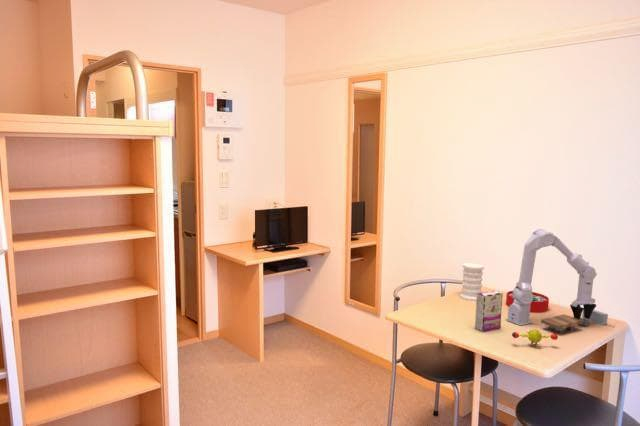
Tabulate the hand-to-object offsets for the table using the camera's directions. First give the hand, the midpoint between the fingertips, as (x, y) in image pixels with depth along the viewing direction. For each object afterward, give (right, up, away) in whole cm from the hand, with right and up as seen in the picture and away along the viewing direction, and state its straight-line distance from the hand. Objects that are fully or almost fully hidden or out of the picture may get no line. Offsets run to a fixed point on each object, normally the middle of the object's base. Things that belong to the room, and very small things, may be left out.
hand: (581, 319), depth 219 cm
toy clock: (-15, +1, +25) cm, 29 cm away
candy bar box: (-47, -2, -8) cm, 48 cm away
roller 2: (-10, -3, -5) cm, 11 cm away
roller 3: (0, -3, 0) cm, 3 cm away
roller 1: (-16, -3, -8) cm, 18 cm away
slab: (-13, 0, -7) cm, 15 cm away
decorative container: (-39, +3, +38) cm, 54 cm away
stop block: (+9, -2, +5) cm, 10 cm away
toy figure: (-34, -5, -27) cm, 44 cm away
